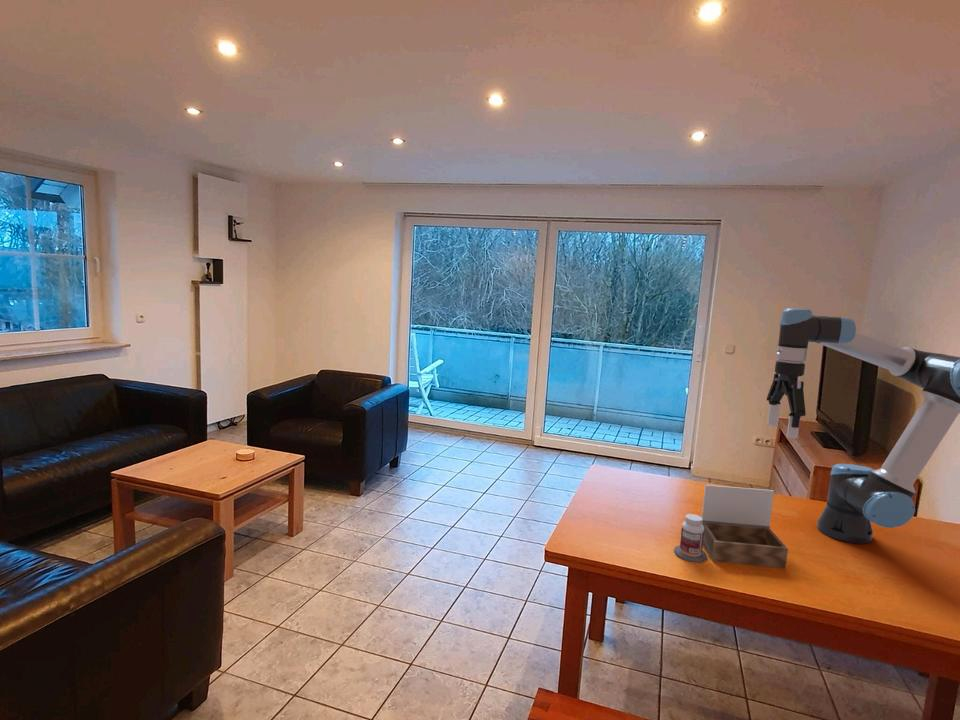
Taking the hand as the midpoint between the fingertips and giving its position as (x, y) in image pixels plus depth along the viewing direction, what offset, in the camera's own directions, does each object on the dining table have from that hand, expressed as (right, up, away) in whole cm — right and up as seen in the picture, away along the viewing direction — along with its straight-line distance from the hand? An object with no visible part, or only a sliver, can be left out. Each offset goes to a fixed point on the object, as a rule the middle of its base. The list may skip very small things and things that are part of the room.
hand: (781, 431), depth 160 cm
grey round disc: (-28, -36, -1) cm, 46 cm away
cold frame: (-12, -36, +2) cm, 38 cm away
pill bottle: (-28, -36, -1) cm, 45 cm away
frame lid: (-11, -30, +6) cm, 32 cm away
